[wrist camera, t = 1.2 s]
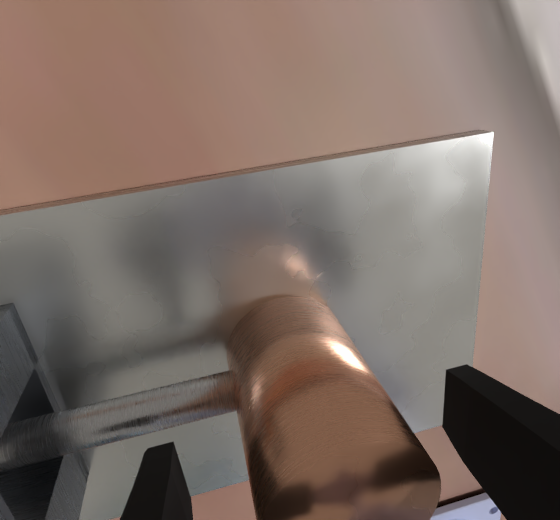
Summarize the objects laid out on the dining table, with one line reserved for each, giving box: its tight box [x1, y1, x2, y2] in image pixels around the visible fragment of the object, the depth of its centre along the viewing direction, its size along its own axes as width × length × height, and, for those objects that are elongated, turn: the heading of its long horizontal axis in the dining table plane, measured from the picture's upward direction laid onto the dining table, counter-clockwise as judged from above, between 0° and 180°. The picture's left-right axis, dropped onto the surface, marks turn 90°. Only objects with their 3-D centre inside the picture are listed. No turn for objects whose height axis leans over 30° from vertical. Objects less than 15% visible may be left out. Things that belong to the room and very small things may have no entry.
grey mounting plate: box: [0, 130, 494, 520], centre depth 12 cm, size 12×23×6 cm, turn 97°
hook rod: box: [0, 296, 441, 520], centre depth 11 cm, size 15×4×6 cm, turn 97°
